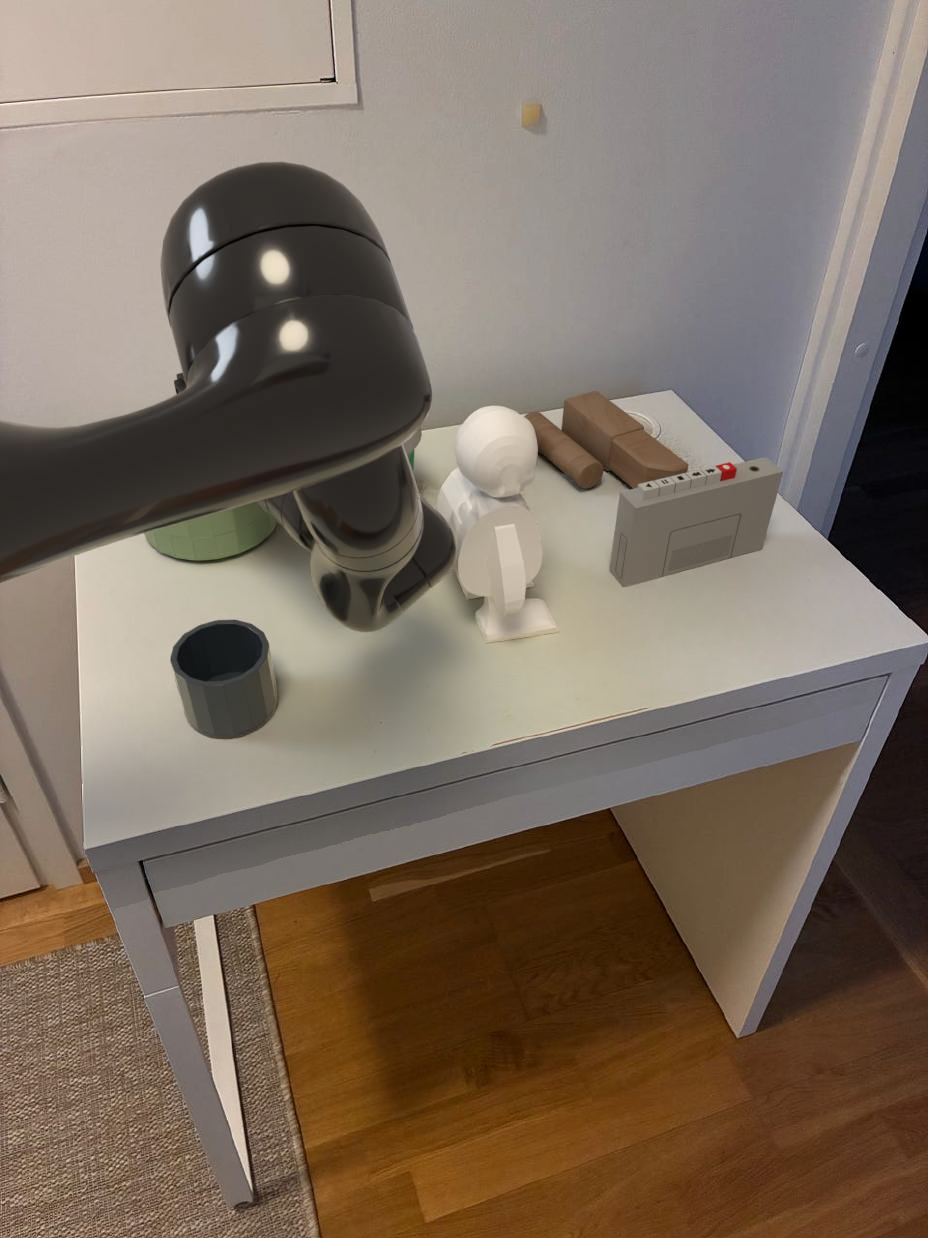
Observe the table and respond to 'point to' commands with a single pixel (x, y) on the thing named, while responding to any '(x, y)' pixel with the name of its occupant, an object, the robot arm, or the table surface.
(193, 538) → the bowl
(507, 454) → the toy robot
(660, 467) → the wooden block set
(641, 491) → the cassette player
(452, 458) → the table surface
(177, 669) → the crock
